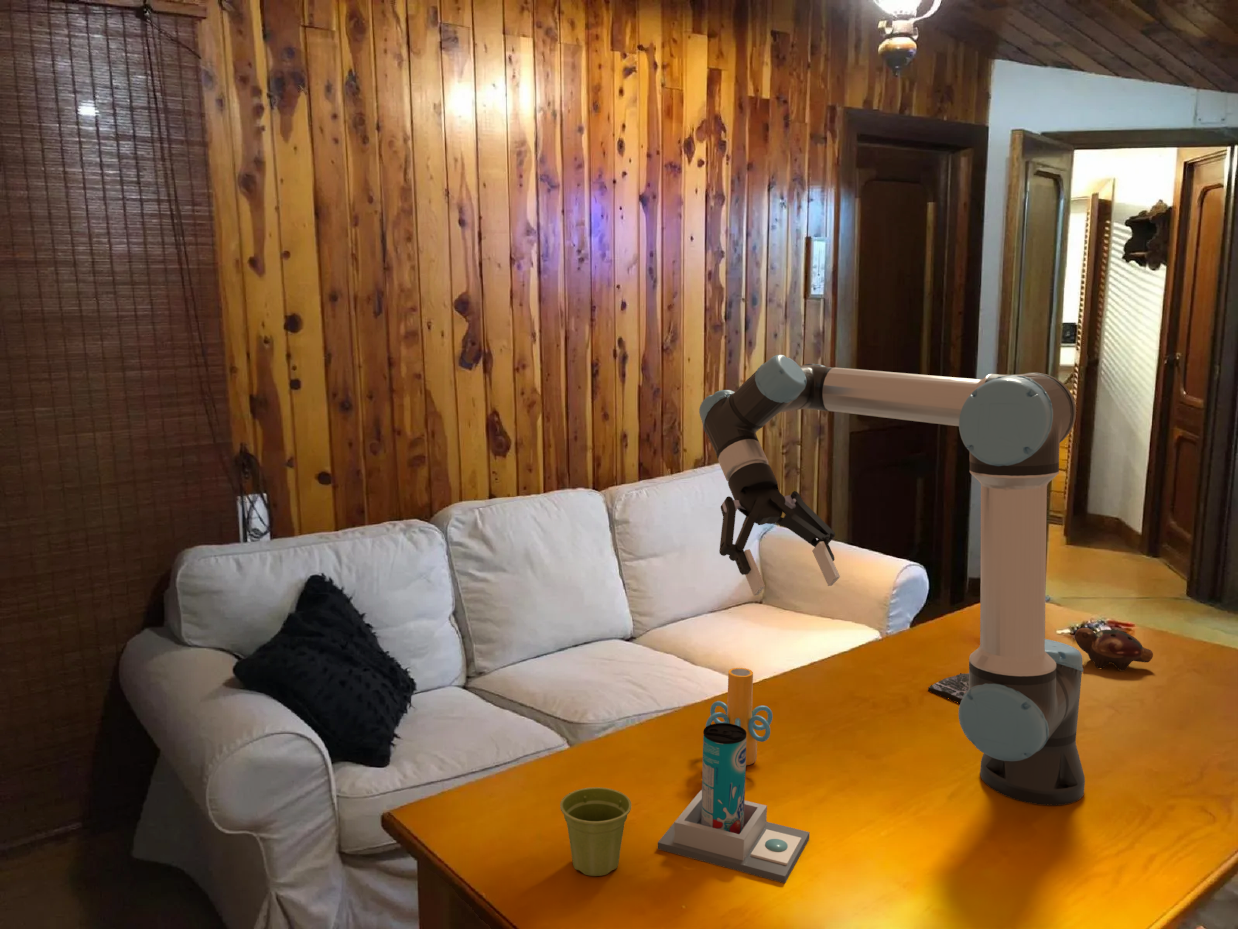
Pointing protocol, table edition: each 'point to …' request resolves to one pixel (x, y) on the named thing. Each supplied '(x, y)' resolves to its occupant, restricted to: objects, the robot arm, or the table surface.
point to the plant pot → (595, 828)
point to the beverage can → (723, 777)
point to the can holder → (737, 842)
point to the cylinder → (742, 710)
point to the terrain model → (952, 687)
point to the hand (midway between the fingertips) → (797, 586)
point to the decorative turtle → (1112, 648)
